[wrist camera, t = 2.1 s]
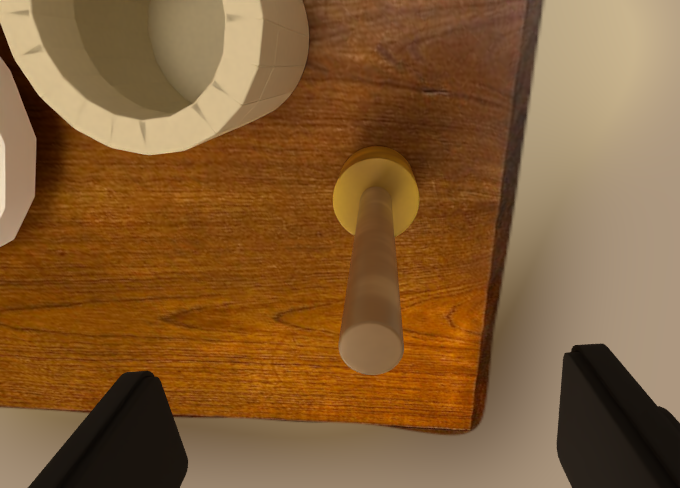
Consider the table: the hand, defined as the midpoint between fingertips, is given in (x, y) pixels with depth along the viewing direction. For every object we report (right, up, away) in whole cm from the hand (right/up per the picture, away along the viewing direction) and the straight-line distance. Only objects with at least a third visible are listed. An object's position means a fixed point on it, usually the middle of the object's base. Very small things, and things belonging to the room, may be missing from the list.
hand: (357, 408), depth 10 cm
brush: (+2, +8, +18) cm, 20 cm away
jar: (-7, +16, +16) cm, 24 cm away
